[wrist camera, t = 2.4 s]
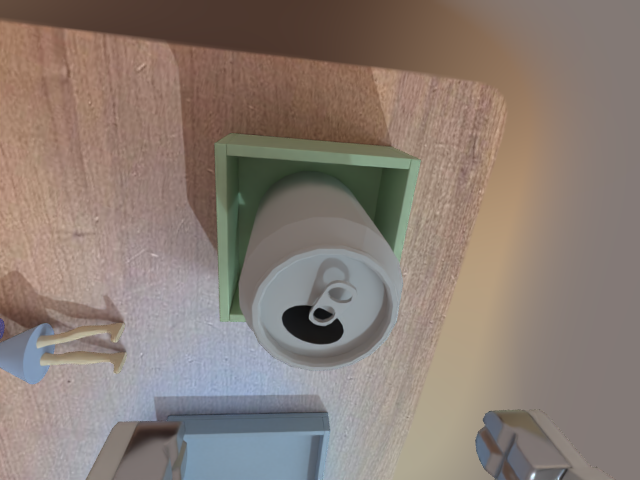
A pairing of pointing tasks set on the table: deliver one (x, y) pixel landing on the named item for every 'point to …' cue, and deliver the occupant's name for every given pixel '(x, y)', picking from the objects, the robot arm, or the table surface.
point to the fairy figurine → (38, 350)
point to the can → (318, 275)
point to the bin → (291, 157)
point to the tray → (256, 446)
